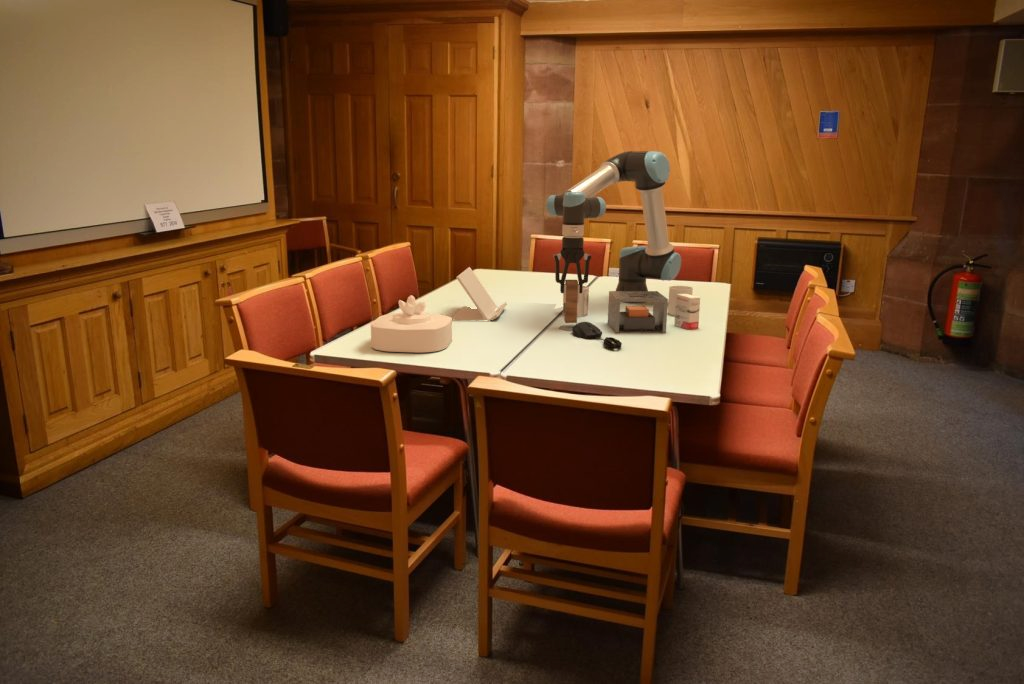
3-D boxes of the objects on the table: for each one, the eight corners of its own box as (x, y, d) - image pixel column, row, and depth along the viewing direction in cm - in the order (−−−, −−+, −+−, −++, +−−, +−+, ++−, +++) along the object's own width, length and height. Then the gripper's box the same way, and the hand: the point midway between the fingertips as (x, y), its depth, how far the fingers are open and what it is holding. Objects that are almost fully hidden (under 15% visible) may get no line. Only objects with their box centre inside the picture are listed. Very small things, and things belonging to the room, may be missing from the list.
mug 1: (594, 315, 304) (595, 287, 301) (575, 319, 296) (576, 290, 293) (573, 311, 311) (574, 284, 308) (554, 315, 302) (554, 287, 300)
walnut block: (564, 320, 282) (565, 279, 278) (575, 320, 282) (576, 279, 278) (565, 322, 278) (566, 281, 274) (576, 322, 278) (578, 281, 275)
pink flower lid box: (442, 353, 244) (441, 303, 241) (364, 350, 247) (363, 300, 243) (456, 335, 269) (455, 289, 265) (385, 333, 271) (384, 287, 267)
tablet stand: (451, 320, 293) (450, 275, 289) (463, 308, 317) (463, 266, 313) (498, 322, 291) (499, 277, 287) (507, 309, 315) (507, 267, 311)
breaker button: (624, 322, 285) (625, 306, 283) (643, 322, 285) (644, 306, 284) (628, 326, 278) (629, 309, 277) (647, 326, 278) (648, 309, 277)
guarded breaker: (607, 323, 289) (609, 291, 286) (655, 323, 290) (657, 291, 287) (615, 333, 274) (616, 299, 271) (665, 333, 275) (667, 299, 272)
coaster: (558, 325, 284) (558, 324, 284) (579, 325, 285) (579, 324, 285) (560, 330, 277) (560, 329, 277) (582, 330, 277) (582, 329, 277)
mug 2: (688, 318, 300) (690, 290, 297) (665, 316, 303) (667, 288, 301) (694, 313, 310) (696, 285, 308) (672, 311, 314) (674, 283, 311)
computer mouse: (585, 331, 277) (585, 318, 276) (630, 348, 253) (631, 334, 252) (565, 333, 274) (566, 320, 273) (609, 351, 250) (609, 337, 248)
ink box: (699, 328, 282) (701, 296, 279) (688, 329, 280) (690, 297, 277) (684, 324, 290) (686, 293, 287) (673, 325, 288) (675, 293, 285)
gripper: (549, 237, 269) (548, 304, 274) (598, 237, 270) (596, 304, 275) (547, 235, 276) (546, 300, 282) (595, 235, 277) (592, 300, 283)
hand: (570, 302), depth 278 cm, fingers closed on walnut block, 4 cm apart
